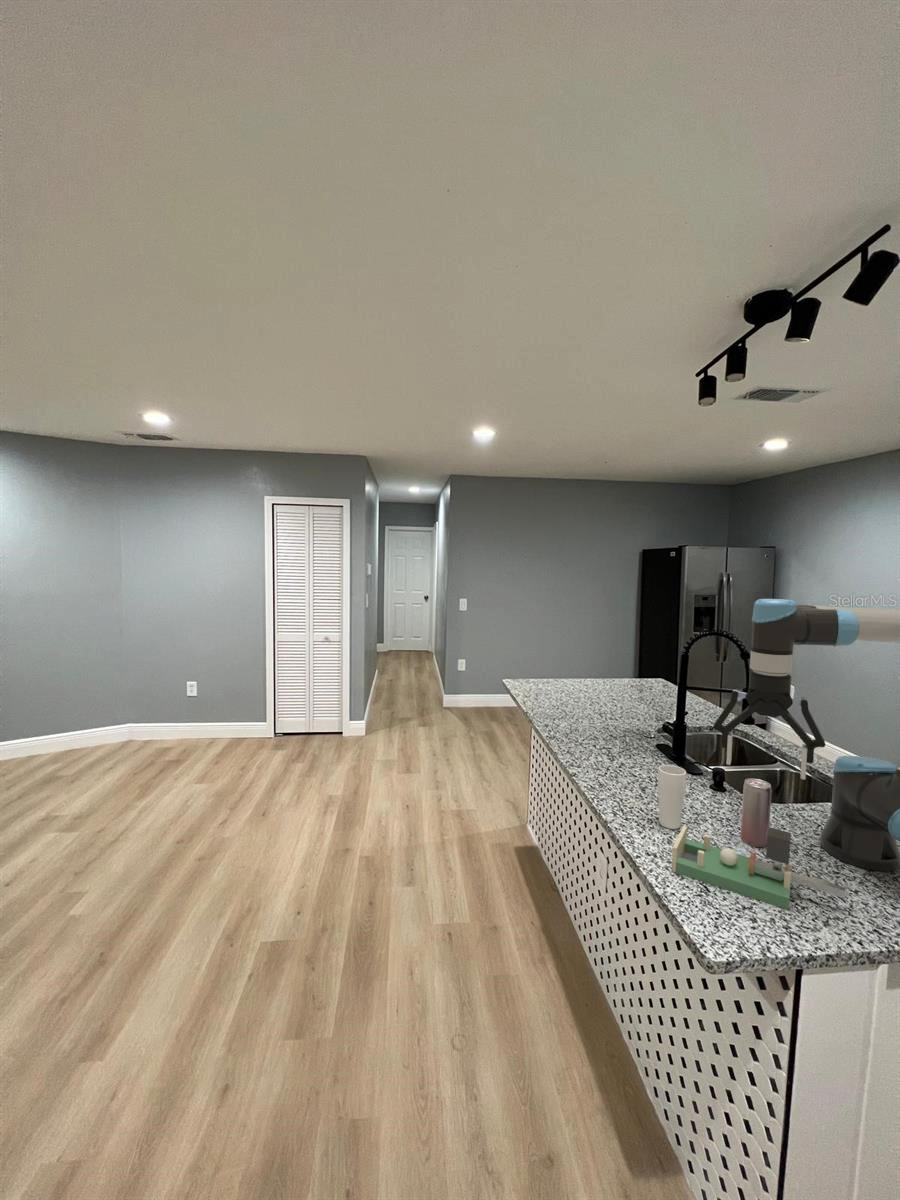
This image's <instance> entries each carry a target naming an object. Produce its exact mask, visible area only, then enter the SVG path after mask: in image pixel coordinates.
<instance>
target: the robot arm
mask: <svg viewBox="0 0 900 1200" xmlns="http://www.w3.org/2000/svg"><path fill="white" fill-rule="evenodd" d="M751 623H752V625H751V642H750V643H751V646H750V659H749V660H750V661H749V669H751V671H750V672H749V678H748V679H749V680H748V690H747V692H744V691H740V690H739V689H738V688H735V689H733V690H732V692H731V697H730V700H729V702H728V703H727V705H726V706H725V707H724V709H723V710H722V712H721V713H720V714H719V716H718V717H717V719H716V721H715V722H714V725H713V729H714V730H715V731H718V732H720V733H721V746H722V748H723V749H726V762H725V763H726V765H728V766H731V763H732V756H733V755H732V753H733V736H734V734H733V733H734V732H732V731H733V730H734V729H735V728H736V727H738V726H739V725H740V724H741V723H743V722H744V721H745V720H747V719H748V718H750V717H751V716H752V715H753V714H755V713H756V714H757V715H759V716H764V717H765V716H768V717H771V718H777V717H781V718H782V719H783V720H784V721H785V722H786V723H787V724H788V725H789V727H790V728H791V729H792V731H794V732H795V734H796V735H797V736H798V737H799V739H800V740H801V741H802V743H803V744H802V746H801V760H800V762H801V763H800V780H804V781H805V780H806V777H807V776H806V775H807V764H814V763H813V762H814V756H815V755H814V753H815V749H817V748H825V747H826V742H825V739H824V737H823V735H822V732H821V731H820V730H819V727H818V725H817V723H816V722H815V719H814V717H813V716H812V715H813V714H811V712H810V709H809V701H808V698H807V697H801V698H792V697H791V687H792V676H791V673H792V671H793V654H794V645H796V646H801V645H802V646H804V645H805V646H829V647H830V646H832V647H834V648H835V647H840V646H849V645H852V644H853V643H855V641H863V642H878V643H879V642H881V643H897V644H899V643H900V609H891V608H890V609H888V608H887V609H886V608H871V607H870V608H865V607H849V606H828V605H808V604H796V602H795V601H794V600H792V599H785V598H784V599H780V598H760V599H759V598H758V599H757V600H755V602H754V605H753V610H752V618H751ZM743 699H746V701H747V703H748V704H749V705H748V706H747V707H746V708H745V709H744V710H742V711H741V712H740V713H739V714H738V715H737V716H735V717H734V718H733V719H732V720H731V721H729V722H727V724H725V725H724V722H725V720H727V718H728V716H729V715H730V713H731V712H732V711H733V709H734V708H735V706H736V705H737V702H741V701H742V700H743ZM792 705H794V706H795V707H796V709H797V710H800V711H801V714H802V716H803V718H804V720H805V722H806V724H807V725H808V727H809V729H810V730H809V731H810V732H811V733H812V736H813V737H814V739H812V738H811V737H810V736H809V735H808V734H807V732H806V731H805V730H804V729H803V727H802V726H801V725H800V723H799V722H797V720H796V719H795V718H794V716H793V715H792V714H791V713H790V712H789V710H788V709H789V708H791V707H792ZM833 767H834V768H833V771H832V773H833V782H832V794H831V795H832V796H831V797H832V798H831V809H830V810H831V811H830V815H829V817H828V819H827V821H826V822H825V824H824V825H823V828H822V830H821V832H820V837H819V838H820V839H819V844H820V846H821V847H822V849H823V850H824V851H825V852H826V853H828V854H830V855H831V856H832V857H835V858H836V859H837V860H838V859H839V860H840V861H842V862H844V863H847V864H849V865H853V866H855V867H859V868H862V869H866V870H871V871H876V872H877V871H878V872H891V871H895V870H898V869H899V868H900V848H899V846H898V843H897V841H898V842H899V843H900V766H899V767H898V765H897V764H895V763H894V762H891V761H889V760H888V761H887V760H884V759H881V758H880V759H879V758H876V757H875V758H874V757H869V756H861V755H860V756H859V755H843V756H839V757H837V758H836V760H835V762H834V765H833Z"/></svg>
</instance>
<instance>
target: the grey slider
mask: <svg viewBox="0 0 900 1200" xmlns="http://www.w3.org/2000/svg"><path fill="white" fill-rule="evenodd" d="M791 837H792V833H791V832H789V831H785V830H782V829H777V828H773V827H770V826H769V829H768V835H767V845H766V850H765V851H766V853H765V854H766V855H765V858H766V859H768V860H770V861H771V860H772V863H771V864H770V863H769V862H767V861H763V860H760V859H757V853H756V852H752V851H751V852H750V854H749V855H750V856H749V857H750V859H749V870H748V873H750V874H753V875H754V873H758V874H761V875H764V876H767V877H771V878H774V879H777V880H780V881H782V879H784V874H785V870H784V869H783V867H784V866H783V864H788V865H789V862H790V853H791ZM790 883H793V884H798V885H801V886H803V887H804V886H805V887H807V888H810V889H815V890H818V891H821V892H824V893H827V894H830V895H834V896H837V897H841V898H844V899H845V897H846V887H844V886H842V885H837V884H834V883H831V882H827V881H825V880H820V879H817V878H815V877H814V878H813V877H810V876H808V875H807V876H806V875H804V874H800V873H797V872H794V871H791V882H790Z"/></svg>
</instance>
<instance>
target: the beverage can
mask: <svg viewBox="0 0 900 1200" xmlns="http://www.w3.org/2000/svg"><path fill="white" fill-rule="evenodd" d="M772 791H773V790H772V785H771V783H770V782H768V781H765V780H762V779H759V778H751V777H750V778H746V779H745V780H744V783H743V791H742V803H741V805H742V806H741V807H742V808H741V819H740V820H741V823H740V838H741V839H742V842H744V843H746V844H748V845H749V846H751V847H758V848H764V847H767V835H768V829H769V827H770V823H771V822H770V821H771V806H772Z"/></svg>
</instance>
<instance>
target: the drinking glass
mask: <svg viewBox="0 0 900 1200" xmlns="http://www.w3.org/2000/svg"><path fill="white" fill-rule="evenodd" d="M657 771H658V772H657V799H658V800H657V801H658V823H659V825H660V826H662V827H664V828H665V829H669V830H678V829H679V828H681V825H682V814H683V807H684V802H685V794H686V786H687V785H686V784H687V771H686V770H685V769H684V768H683V767H680V766H677V765H673V764H662V765H659V766H658V769H657Z"/></svg>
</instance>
